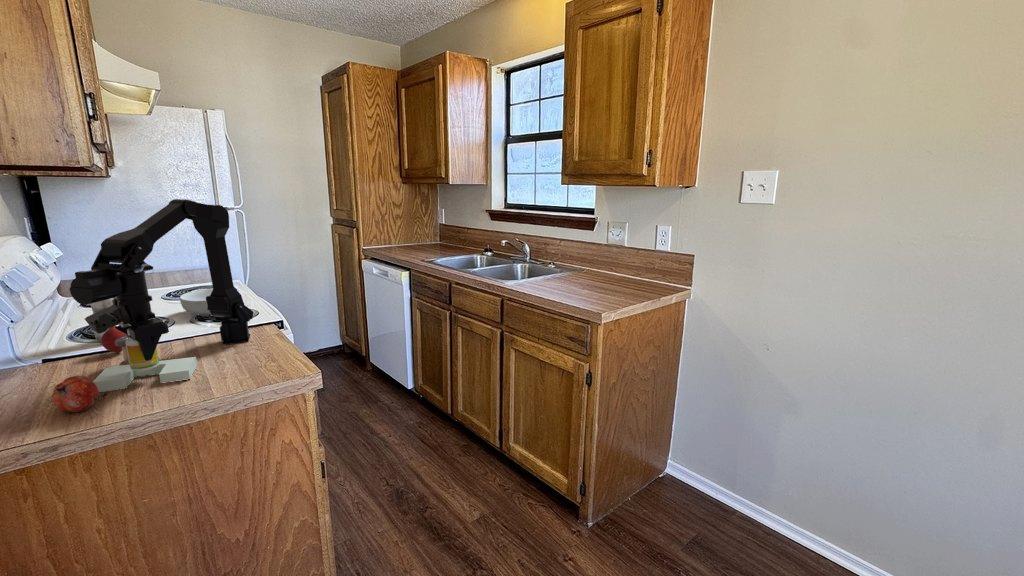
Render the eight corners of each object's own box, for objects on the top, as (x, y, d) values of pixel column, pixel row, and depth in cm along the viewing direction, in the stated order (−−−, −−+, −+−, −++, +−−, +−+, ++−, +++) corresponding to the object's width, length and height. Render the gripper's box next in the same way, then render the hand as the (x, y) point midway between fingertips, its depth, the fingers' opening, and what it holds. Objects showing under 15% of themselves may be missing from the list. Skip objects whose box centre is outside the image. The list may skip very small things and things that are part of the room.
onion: (116, 358, 122) (110, 329, 120) (98, 355, 123) (92, 327, 121) (137, 350, 128) (132, 322, 126) (120, 348, 129) (115, 320, 127)
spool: (157, 357, 123) (153, 332, 121) (150, 367, 117) (145, 341, 115) (125, 361, 120) (120, 335, 119) (115, 371, 114) (110, 345, 112)
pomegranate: (75, 411, 100) (26, 403, 91) (94, 378, 102) (49, 367, 93) (103, 419, 98) (56, 412, 89) (122, 385, 101) (78, 375, 92)
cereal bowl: (169, 318, 155) (166, 298, 153) (209, 305, 171) (206, 286, 169) (214, 322, 152) (212, 301, 151) (250, 308, 168) (248, 289, 166)
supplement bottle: (162, 367, 109) (155, 328, 107) (133, 374, 105) (125, 333, 103) (156, 360, 113) (150, 322, 110) (128, 367, 109) (121, 327, 106)
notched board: (197, 365, 118) (196, 356, 118) (190, 380, 110) (188, 370, 110) (108, 376, 111) (106, 367, 111) (94, 392, 103) (91, 382, 103)
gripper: (73, 292, 104) (87, 357, 107) (98, 308, 93) (113, 379, 97) (134, 283, 112) (145, 344, 116) (163, 297, 102) (175, 363, 106)
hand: (144, 357), depth 108 cm, fingers closed on supplement bottle, 5 cm apart
